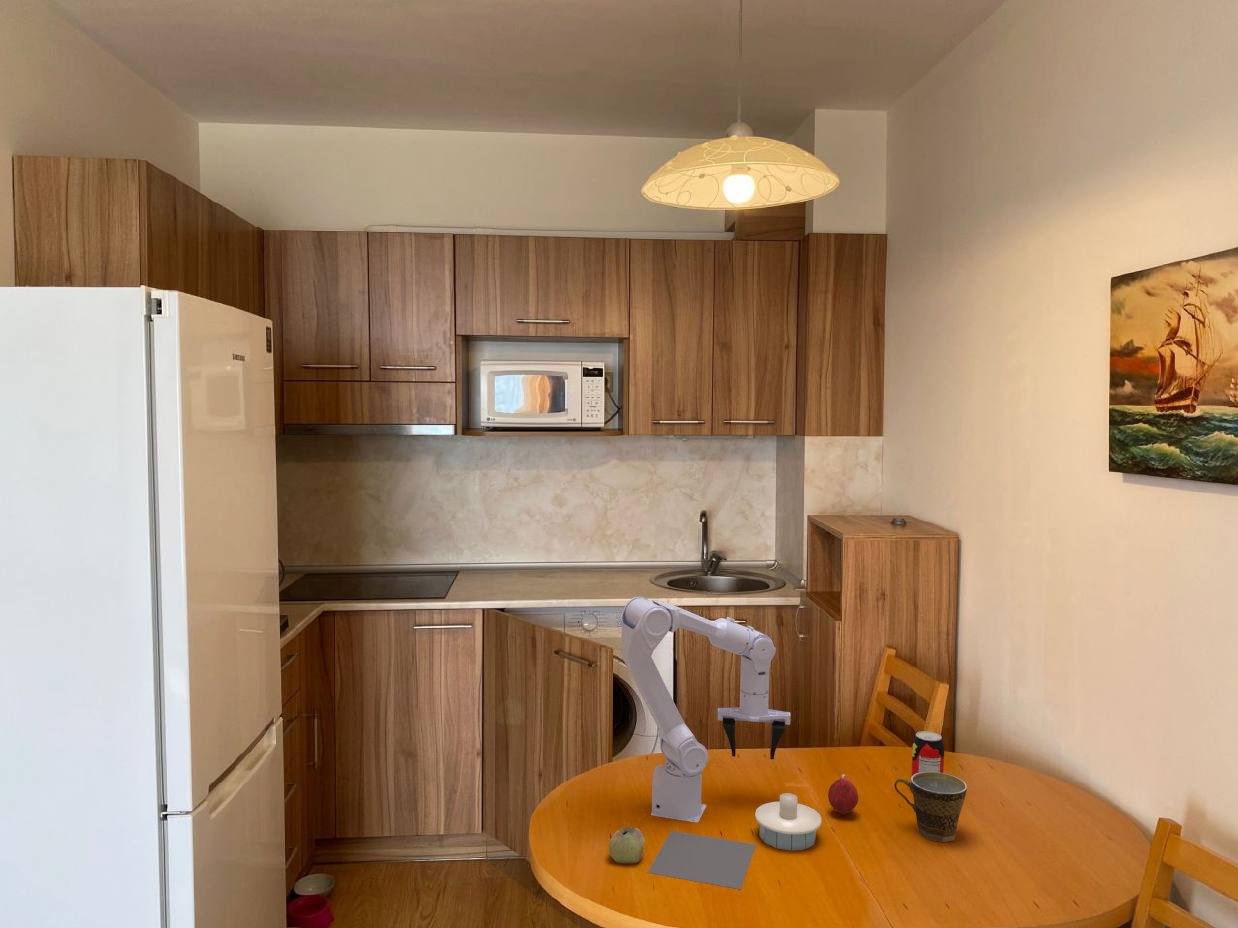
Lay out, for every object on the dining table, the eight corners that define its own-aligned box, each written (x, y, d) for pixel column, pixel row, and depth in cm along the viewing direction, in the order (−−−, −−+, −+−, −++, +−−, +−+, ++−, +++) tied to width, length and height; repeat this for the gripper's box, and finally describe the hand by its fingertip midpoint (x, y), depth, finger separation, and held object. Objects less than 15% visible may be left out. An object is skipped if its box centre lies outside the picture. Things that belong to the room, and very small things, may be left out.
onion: (858, 822, 174) (859, 782, 173) (827, 819, 175) (829, 779, 174) (856, 809, 179) (858, 770, 179) (827, 806, 180) (828, 767, 180)
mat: (647, 875, 153) (647, 872, 153) (671, 833, 168) (671, 830, 168) (740, 892, 148) (740, 889, 148) (756, 847, 163) (756, 844, 163)
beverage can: (945, 789, 189) (947, 734, 188) (938, 800, 184) (940, 743, 183) (915, 782, 193) (917, 727, 192) (907, 793, 187) (909, 736, 186)
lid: (750, 827, 162) (750, 805, 162) (760, 800, 174) (761, 779, 173) (817, 838, 159) (818, 815, 158) (824, 809, 170) (824, 788, 170)
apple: (657, 866, 156) (658, 833, 156) (613, 872, 154) (614, 839, 154) (646, 849, 162) (647, 818, 162) (604, 855, 160) (604, 823, 159)
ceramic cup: (966, 827, 172) (968, 777, 171) (963, 851, 163) (965, 797, 162) (896, 814, 177) (898, 764, 177) (889, 835, 168) (890, 784, 168)
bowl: (756, 847, 163) (756, 826, 163) (764, 823, 173) (765, 803, 172) (812, 856, 160) (812, 834, 160) (817, 831, 170) (818, 811, 169)
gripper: (717, 694, 178) (716, 761, 179) (791, 698, 176) (790, 766, 177) (718, 683, 185) (717, 747, 186) (790, 687, 183) (788, 752, 184)
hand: (752, 755), depth 182 cm, fingers open, 7 cm apart
